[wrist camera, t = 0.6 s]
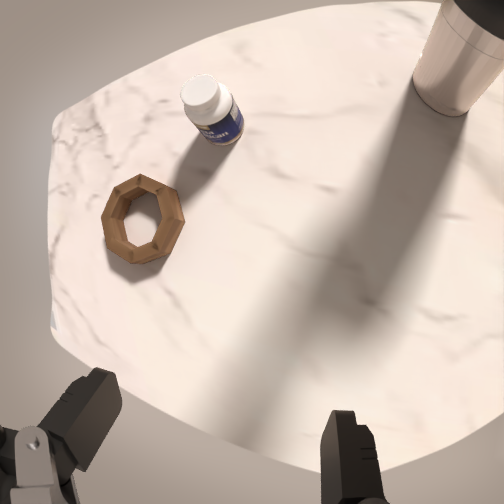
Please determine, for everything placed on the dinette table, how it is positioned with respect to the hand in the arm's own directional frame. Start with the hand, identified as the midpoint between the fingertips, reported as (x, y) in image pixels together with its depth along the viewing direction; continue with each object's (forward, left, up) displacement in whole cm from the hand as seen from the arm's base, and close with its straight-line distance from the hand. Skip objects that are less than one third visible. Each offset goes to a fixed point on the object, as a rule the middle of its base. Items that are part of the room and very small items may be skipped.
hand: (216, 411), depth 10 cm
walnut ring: (-2, -21, -25) cm, 32 cm away
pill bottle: (-17, -17, -25) cm, 35 cm away
